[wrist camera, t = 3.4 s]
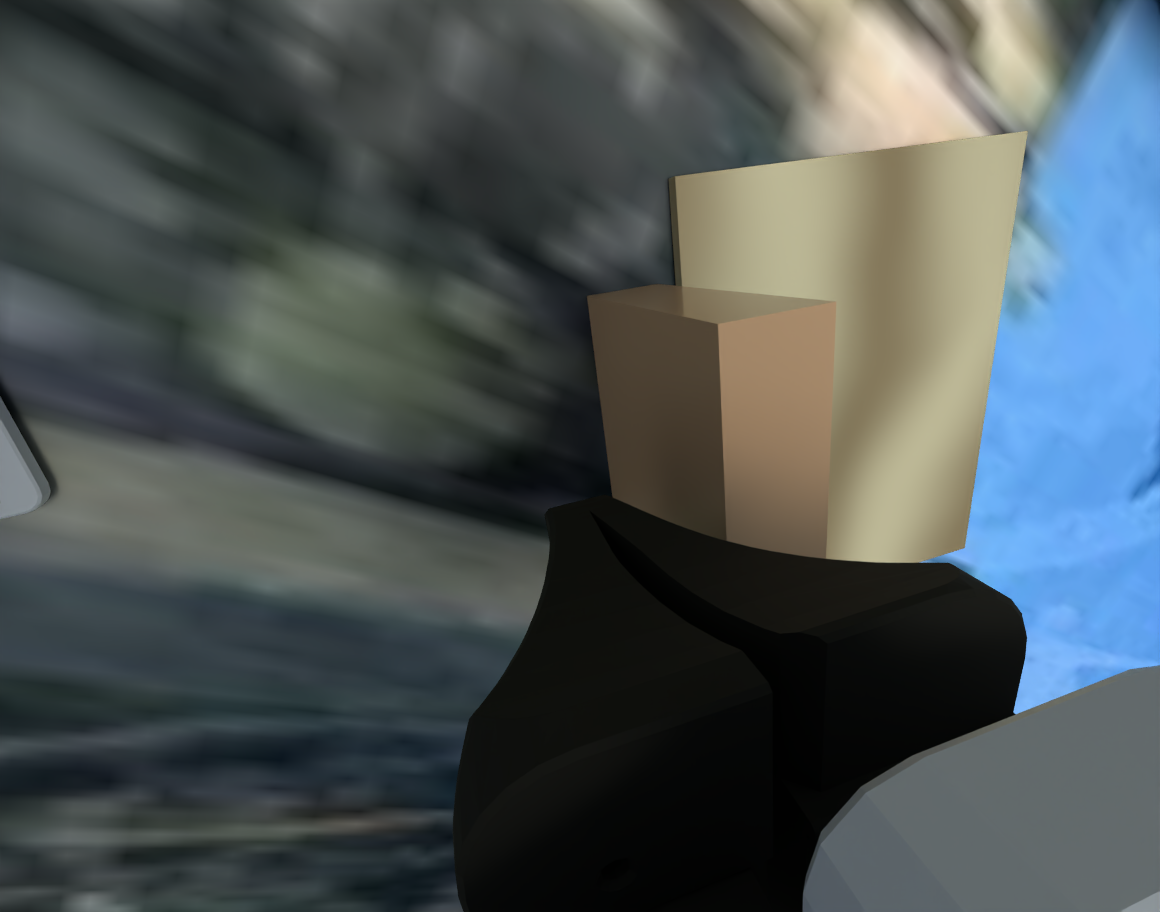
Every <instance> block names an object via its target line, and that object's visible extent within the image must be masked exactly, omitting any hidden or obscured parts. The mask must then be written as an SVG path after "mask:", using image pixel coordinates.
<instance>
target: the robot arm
mask: <svg viewBox="0 0 1160 912" xmlns="http://www.w3.org/2000/svg"><path fill="white" fill-rule="evenodd" d="M50 492H51V490H50V487H49V483H48V481H47V480H46V478H45V476H44V474H43V472H42V471H41V469H40V467H39V465H38V463H37V462H36V460H35V458H34V456H33V454H32V453H31V451H30V449H29V447H28V445H27V444H26V442H25V440H24V438H23V436H22V435H21V433H20V431H19V429H18V428H17V426H16V424H15V422H14V420H13V419H12V417H11V415H10V413H9V411H8V410H7V408H6V406H5V404H4V402H3V401H2V399H1V397H0V519H3V518H8V517H12V516H17V515H22V514H26V513H29V512H31V511H34V510H35V509H37V508H39V507H40V506H42V505H43V504H44V503H45V502H46V501H47V500H48V499H49V496H50ZM545 519H546V525H547V530H548V536H549V541H550V551H549V560H548V566H547V571H546V577H545V582H544V586H543V589H542V593H541V596H540V599H539V602H538V605H537V608H536V611H535V614H534V616H533V618H532V621H531V623H530V626H529V628H528V631H527V633H526V635H525V637H524V639H523V641H522V643H521V645H520V647H519V648H518V650H517V652H516V654H515V655H514V657H513V659H512V660H511V662H510V664H509V665H508V667H507V669H506V671H505V672H504V674H503V676H502V677H501V679H500V680H499V681H498V683H497V684H496V686H495V687H494V688H493V690H492V691H491V692H490V694H489V695H488V696H487V698H486V699H485V700H484V701H483V703H482V704H481V705H480V707H479V708H478V709H477V710H476V711H475V712H474V714H473V715H472V716H471V717H470V719H469V722H468V726H467V731H466V735H465V740H464V745H463V749H462V754H461V760H460V765H459V771H458V777H457V785H456V793H455V804H454V816H453V844H454V859H455V874H456V881H457V889H458V897H459V900H460V903H461V906H462V909H463V911H464V912H1160V665H1159V666H1152V667H1144V668H1137V669H1130V670H1127V671H1125V672H1122V673H1120V674H1117V675H1115V676H1112V677H1110V678H1107V679H1105V680H1102V681H1099V682H1097V683H1094V684H1092V685H1089V686H1087V687H1084V688H1082V689H1079V690H1077V691H1074V692H1072V693H1069V694H1067V695H1064V696H1062V697H1059V698H1056V699H1054V700H1051V701H1049V702H1046V703H1044V704H1041V705H1039V706H1036V707H1034V708H1031V709H1029V710H1026V711H1024V712H1021V713H1019V714H1014V713H1013V711H1014V706H1015V701H1016V697H1017V692H1018V688H1019V683H1020V679H1021V674H1022V670H1023V665H1024V660H1025V653H1026V642H1027V636H1026V630H1025V626H1024V622H1023V617H1022V613H1021V612H1020V610H1019V609H1018V608H1017V606H1016V605H1015V604H1014V602H1013V601H1012V600H1011V599H1010V598H1008V597H1007V596H1005V595H1003V594H1002V593H1000V592H998V591H996V590H995V589H993V588H991V587H990V586H988V585H986V584H985V583H983V582H981V581H979V580H978V579H976V578H974V577H973V576H971V575H969V574H968V573H966V572H964V571H962V570H961V569H959V568H957V567H956V566H954V565H952V564H950V563H886V562H862V561H848V560H834V559H824V558H815V557H807V556H800V555H793V554H787V553H781V552H774V551H769V550H764V549H759V548H754V547H749V546H745V545H741V544H737V543H733V542H729V541H725V540H721V539H718V538H715V537H711V536H708V535H705V534H702V533H699V532H696V531H693V530H690V529H687V528H684V527H682V526H679V525H676V524H674V523H671V522H669V521H666V520H664V519H661V518H659V517H656V516H654V515H652V514H649V513H647V512H645V511H643V510H640V509H638V508H636V507H634V506H631V505H629V504H627V503H625V502H622V501H620V500H618V499H615V498H613V497H610V496H607V495H601V496H597V497H593V498H589V499H585V500H581V501H577V502H573V503H569V504H565V505H561V506H557V507H553V508H549V509H548V511H547V512H546V514H545Z"/></svg>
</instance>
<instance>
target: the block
mask: <svg viewBox="0 0 1160 912" xmlns="http://www.w3.org/2000/svg"><path fill="white" fill-rule="evenodd" d="M587 300H588V308H589V316H590V324H591V332H592V340H593V347H594V355H595V363H596V371H597V379H598V387H599V395H600V403H601V410H602V418H603V426H604V434H605V442H606V450H607V458H608V465H609V473H610V481H611V489H612V497H613V498H615V499H618V500H620V501H622V502H625V503H627V504H629V505H631V506H634V507H636V508H638V509H640V510H643V511H645V512H647V513H649V514H652V515H654V516H656V517H659V518H661V519H664V520H666V521H669V522H671V523H674V524H676V525H679V526H682V527H684V528H687V529H690V530H693V531H696V532H699V533H702V534H705V535H708V536H711V537H715V538H718V539H721V540H725V541H729V542H733V543H737V544H741V545H745V546H749V547H754V548H759V549H764V550H769V551H774V552H781V553H787V554H793V555H800V556H807V557H815V558H824V559H826V548H827V523H828V498H829V474H830V449H831V424H832V399H833V374H834V349H835V324H836V301H827V300H816V299H806V298H796V297H786V296H776V295H765V294H755V293H745V292H735V291H725V290H714V289H704V288H694V287H684V286H674V285H663V284H654V285H648V286H642V287H637V288H631V289H625V290H619V291H613V292H607V293H601V294H595V295H590V296H587Z"/></svg>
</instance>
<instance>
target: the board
mask: <svg viewBox="0 0 1160 912" xmlns="http://www.w3.org/2000/svg"><path fill="white" fill-rule="evenodd" d="M1027 132H1028V131H1024V132H1017V133H1009V134H1001V135H993V136H985V137H978V138H970V139H962V140H954V141H947V142H939V143H931V144H923V145H915V146H908V147H900V148H892V149H884V150H877V151H869V152H861V153H853V154H845V155H838V156H830V157H822V158H814V159H807V160H799V161H791V162H783V163H776V164H768V165H760V166H752V167H744V168H737V169H729V170H721V171H713V172H706V173H698V174H690V175H682V176H675V177H672V178H669V193H670V208H671V223H672V238H673V253H674V268H675V283H676V286H684V287H694V288H704V289H714V290H725V291H735V292H745V293H755V294H765V295H776V296H786V297H796V298H806V299H816V300H827V301H836V324H835V349H834V374H833V399H832V424H831V449H830V474H829V498H828V523H827V548H826V559H834V560H848V561H862V562H886V563H918V562H921V561H925V560H928V559H931V558H934V557H937V556H941V555H944V554H947V553H950V552H953V551H957V550H960V549H963V548H965V542H966V535H967V529H968V522H969V516H970V509H971V502H972V496H973V489H974V483H975V476H976V469H977V463H978V456H979V449H980V443H981V436H982V430H983V423H984V416H985V410H986V403H987V397H988V390H989V383H990V377H991V370H992V364H993V357H994V350H995V344H996V337H997V331H998V324H999V317H1000V311H1001V304H1002V297H1003V291H1004V284H1005V278H1006V271H1007V264H1008V258H1009V251H1010V245H1011V238H1012V231H1013V225H1014V218H1015V212H1016V205H1017V198H1018V192H1019V185H1020V179H1021V172H1022V165H1023V159H1024V152H1025V145H1026V139H1027Z"/></svg>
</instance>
